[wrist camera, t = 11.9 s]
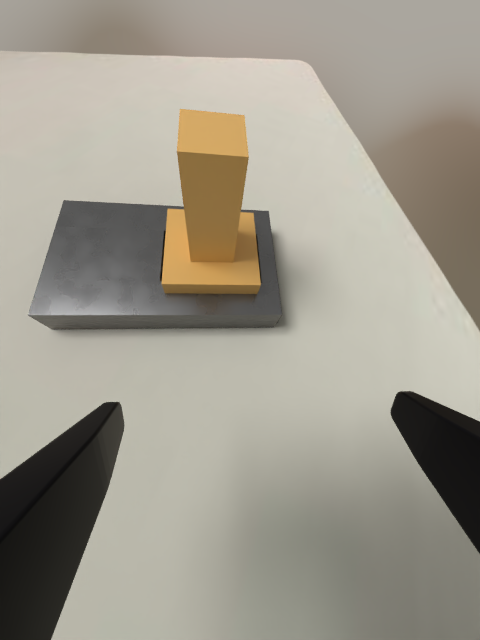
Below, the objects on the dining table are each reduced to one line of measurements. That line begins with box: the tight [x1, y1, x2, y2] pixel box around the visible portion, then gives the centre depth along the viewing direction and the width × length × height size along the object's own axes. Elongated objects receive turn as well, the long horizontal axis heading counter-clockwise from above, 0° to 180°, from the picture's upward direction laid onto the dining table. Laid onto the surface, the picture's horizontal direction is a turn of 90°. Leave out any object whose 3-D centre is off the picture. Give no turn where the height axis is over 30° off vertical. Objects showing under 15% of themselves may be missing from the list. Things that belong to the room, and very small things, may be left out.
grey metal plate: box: [28, 200, 282, 329], centre depth 23 cm, size 12×20×3 cm, turn 93°
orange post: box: [162, 109, 261, 294], centre depth 19 cm, size 8×8×13 cm
